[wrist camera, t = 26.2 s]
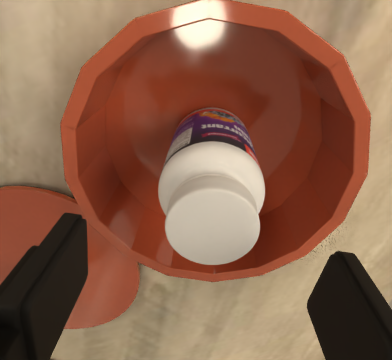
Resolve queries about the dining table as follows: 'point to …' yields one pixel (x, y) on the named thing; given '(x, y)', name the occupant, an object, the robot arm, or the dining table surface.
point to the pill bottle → (211, 188)
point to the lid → (97, 253)
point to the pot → (224, 99)
